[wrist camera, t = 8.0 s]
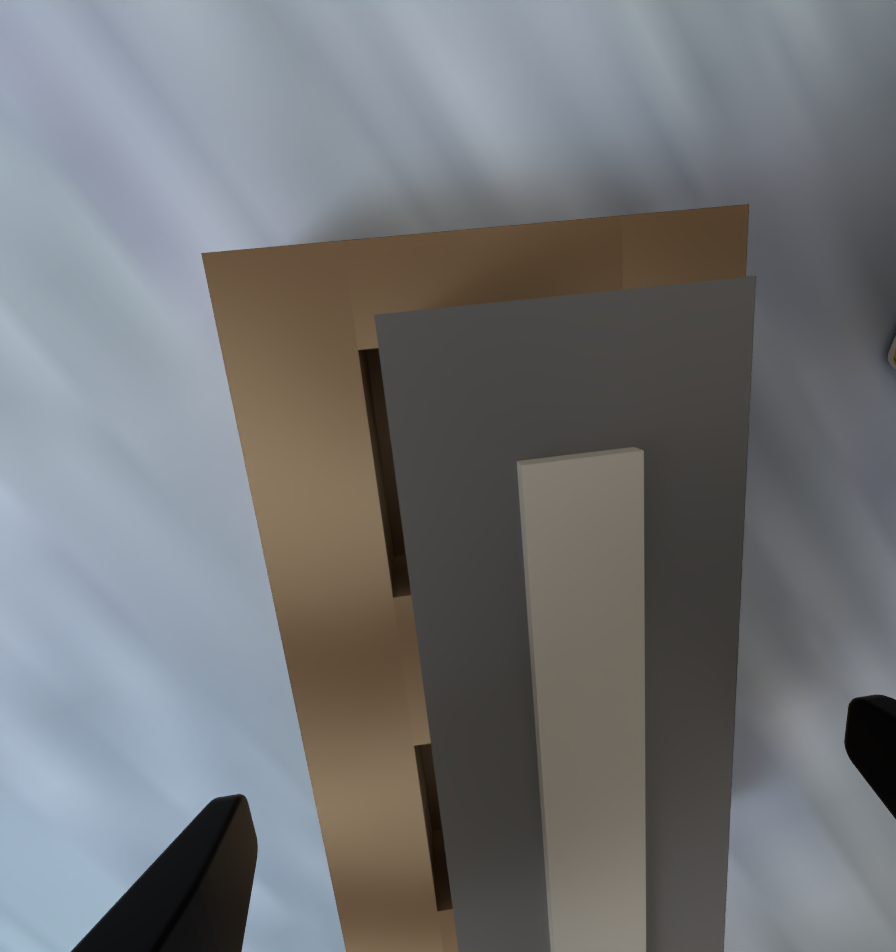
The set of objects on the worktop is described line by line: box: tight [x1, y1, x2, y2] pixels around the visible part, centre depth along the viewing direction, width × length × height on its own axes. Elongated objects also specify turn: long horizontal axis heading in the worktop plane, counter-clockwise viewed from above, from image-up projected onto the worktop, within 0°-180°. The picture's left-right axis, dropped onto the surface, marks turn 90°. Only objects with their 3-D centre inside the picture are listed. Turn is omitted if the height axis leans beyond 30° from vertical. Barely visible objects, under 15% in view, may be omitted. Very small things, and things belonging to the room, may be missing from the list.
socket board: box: [201, 204, 749, 952], centre depth 11 cm, size 16×9×2 cm, turn 6°
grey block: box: [374, 276, 756, 952], centre depth 9 cm, size 13×4×6 cm, turn 6°
